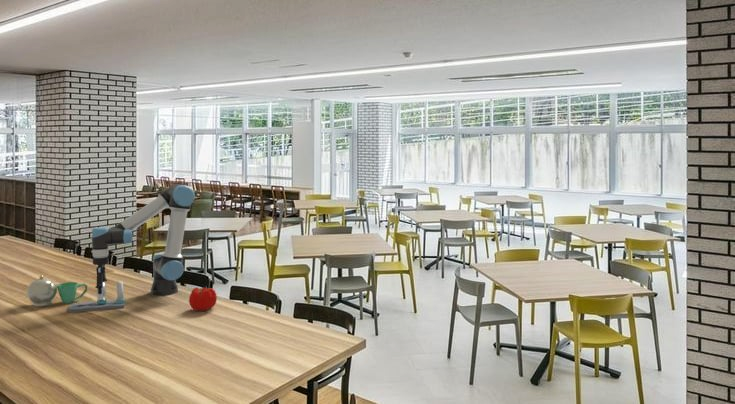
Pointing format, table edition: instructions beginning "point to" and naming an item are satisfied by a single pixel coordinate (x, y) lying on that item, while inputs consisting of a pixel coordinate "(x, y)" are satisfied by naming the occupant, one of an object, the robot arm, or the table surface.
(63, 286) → the mug
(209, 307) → the tomato
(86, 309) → the grey and teal piece
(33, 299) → the teapot
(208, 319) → the table surface
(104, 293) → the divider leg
